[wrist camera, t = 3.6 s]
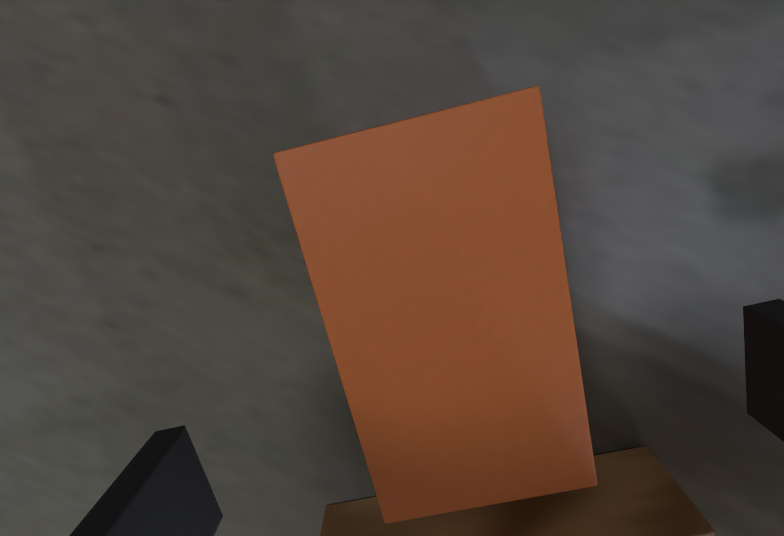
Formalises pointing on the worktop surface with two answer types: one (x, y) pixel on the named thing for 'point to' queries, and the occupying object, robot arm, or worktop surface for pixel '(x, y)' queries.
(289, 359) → the worktop surface
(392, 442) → the book
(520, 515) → the box stack
